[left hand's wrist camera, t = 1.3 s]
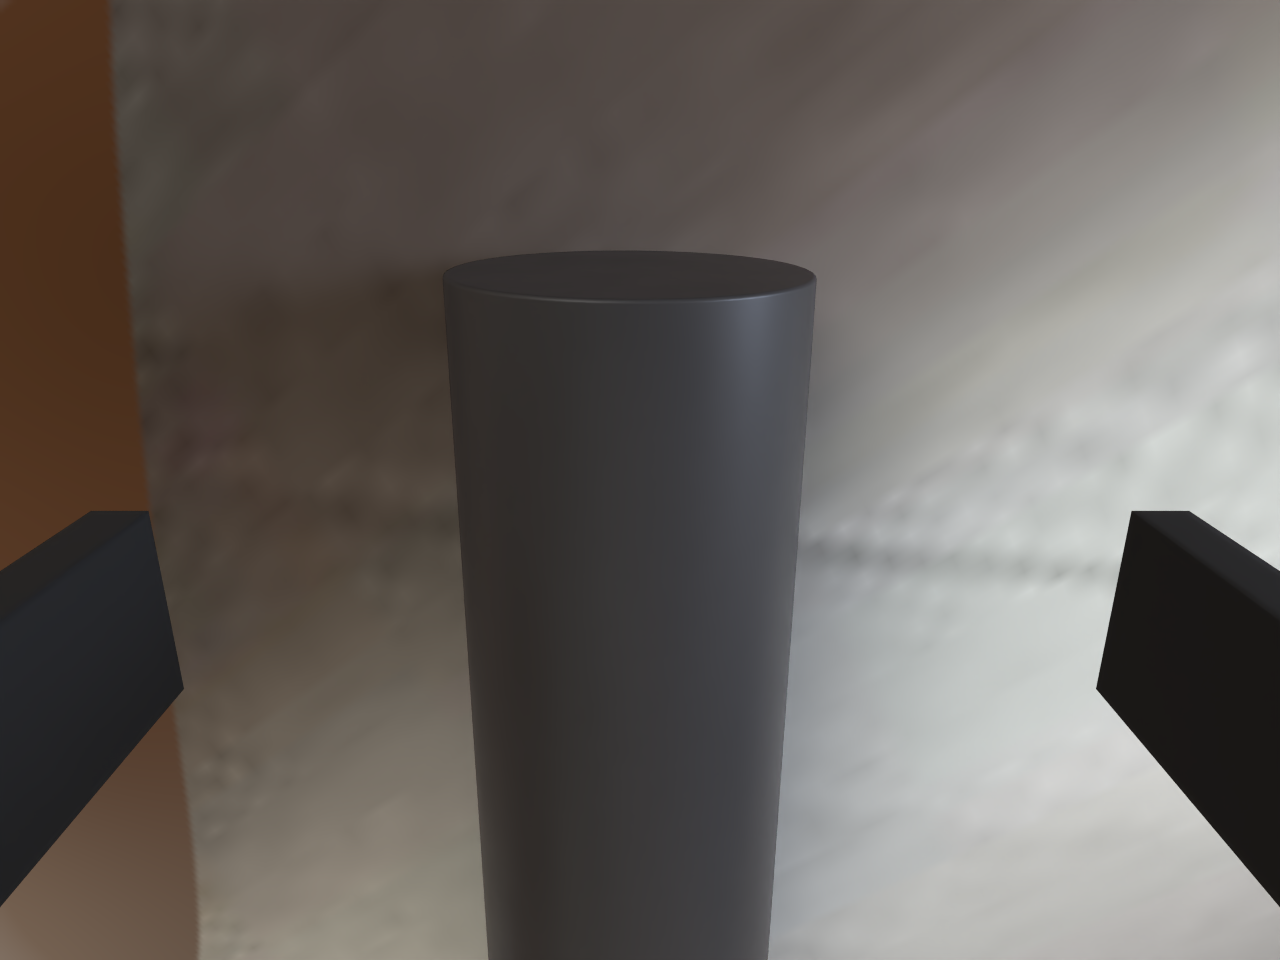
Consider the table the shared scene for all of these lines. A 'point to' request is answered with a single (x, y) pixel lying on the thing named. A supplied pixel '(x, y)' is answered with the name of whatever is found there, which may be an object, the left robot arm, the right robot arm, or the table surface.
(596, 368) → the rod
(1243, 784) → the left robot arm
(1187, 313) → the table surface
